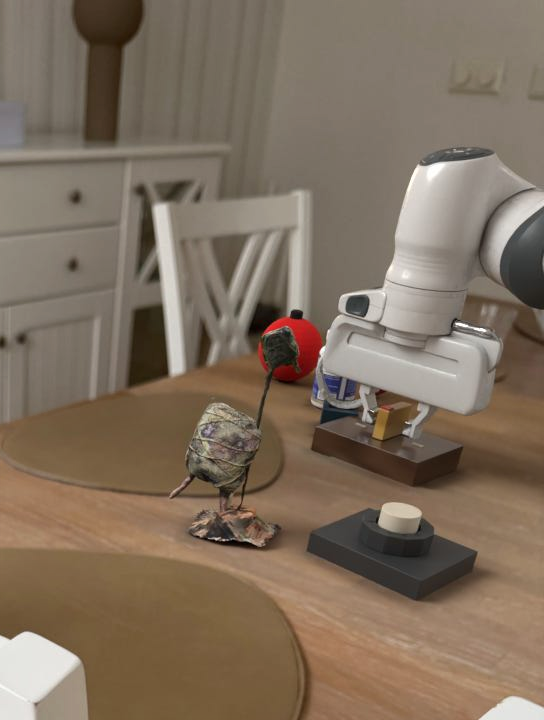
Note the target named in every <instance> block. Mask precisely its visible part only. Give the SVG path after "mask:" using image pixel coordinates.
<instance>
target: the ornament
mask: <svg viewBox="0 0 544 720" xmlns="http://www.w3.org/2000/svg"><path fill="white" fill-rule="evenodd" d="M303 316H304V312H303V310H302V309H297V308H294V309H291V311H290V314H289V316H285V317H281V318H278V319H277V320H275V321H274V322H272V323H271V324H270V325H269V326H268V327H267V328H266V329H265V330H264V332H263V333H262V336H263V335H264V334H267V333H268V332H270V331H274V330H277V329H280V328H282V327H284V326H288V327H289V328H291V330H292V332H293V334H294V337H295V340H296V343H297V345H298V347H299V348H298V350H299V357H298V359H297V363H298V365H299V368H300V370H301V372H300V373H297V372H296V371H295V369H294V367H292V366H291V365H289V366H288V367H286V366H280V367H279V368H277V369H275V370H274V372H273V377H272V378H274V379H275V380H279V381H282V382H294V381H298V380H302V379H304V378H305V377H307V376H308V375H310V374H311V373H312V372H313V371H314V370H315V369H316V368H317V364H318V358H319V353H320V350H321V349H322V348H323V341H322V337H321V333H320V332H319V330H318V328H317V327H316V325H314V324H313V323H312V322H311V321H309V319H306V318H304V317H303ZM262 336H261V337H262ZM258 358H259V362H260V364H261V366H262V368H263V369H264V371H265V372H266V373H268V370H269V366H266V365H265V362H264V357H263V355H262V347H261V343H260V342H259V344H258Z"/></svg>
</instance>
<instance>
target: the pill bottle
mask: <svg viewBox="0 0 544 720" xmlns="http://www.w3.org/2000/svg"><path fill="white" fill-rule="evenodd" d="M329 331H330V328H329V329H328V330H327V333H326V336H325V337H326V339H325V341H327V338H328V335H329ZM325 346H326V345H323V346H322V349H321V350H320V353H319V358H318V363H319V359H320V358H321V355H322V354H323V353H324V350H325ZM322 363H323V362H322ZM316 368H318V364H317V366H316ZM323 375H324V380H325V383H326V385H327V388H328V390H329V391H330V395H331V397H333V398H337V399H344V400H351V401H354V400H355V397H356V393H357V387H358V383H359V382H356V381H353V380H350V379H346V378H343V377H340V376H337V375H334V374H330V373H328V372H326V370H325V367H324V364H323ZM313 380H314V382H313V385H312V391H311V396H310V402H311V404H312V406H314V407H316V408H318V409H320V410H322V408H323V403H324V399H323V397H322V395H321V392H320V390H319V387H318V383H317V377H316V373H315V374H314V379H313Z"/></svg>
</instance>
